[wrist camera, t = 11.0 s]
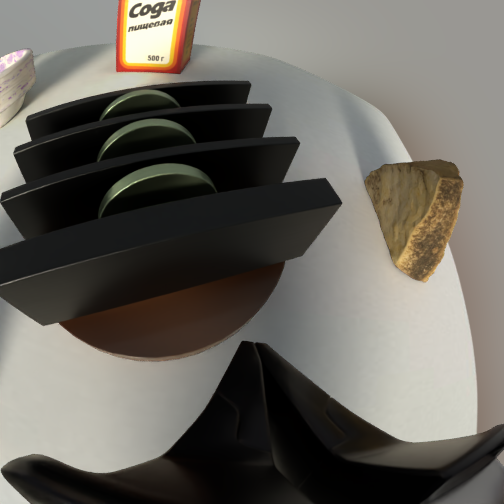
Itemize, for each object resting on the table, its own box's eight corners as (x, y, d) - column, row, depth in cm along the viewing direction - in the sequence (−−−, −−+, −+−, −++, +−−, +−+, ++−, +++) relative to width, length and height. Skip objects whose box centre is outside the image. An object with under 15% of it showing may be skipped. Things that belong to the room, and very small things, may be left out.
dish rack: (296, 264, 17) (350, 194, 11) (51, 331, 11) (-20, 282, 5) (231, 142, 21) (249, 72, 16) (49, 178, 15) (26, 106, 10)
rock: (349, 147, 24) (349, 205, 17) (426, 120, 19) (463, 170, 12) (385, 227, 29) (389, 297, 23) (450, 209, 24) (473, 277, 17)
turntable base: (226, 413, 13) (230, 415, 12) (-1, 273, 12) (-12, 263, 11) (305, 190, 22) (311, 178, 21) (128, 123, 22) (127, 111, 21)
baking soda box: (116, 71, 28) (122, -29, 14) (133, 56, 31) (142, -31, 17) (179, 73, 29) (198, -33, 16) (190, 59, 33) (208, -31, 19)
